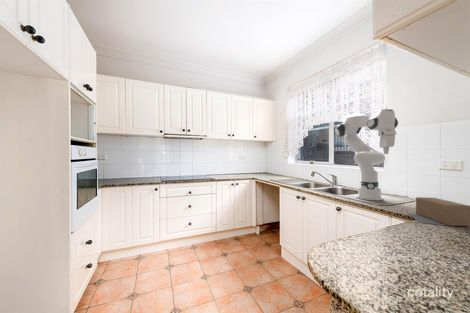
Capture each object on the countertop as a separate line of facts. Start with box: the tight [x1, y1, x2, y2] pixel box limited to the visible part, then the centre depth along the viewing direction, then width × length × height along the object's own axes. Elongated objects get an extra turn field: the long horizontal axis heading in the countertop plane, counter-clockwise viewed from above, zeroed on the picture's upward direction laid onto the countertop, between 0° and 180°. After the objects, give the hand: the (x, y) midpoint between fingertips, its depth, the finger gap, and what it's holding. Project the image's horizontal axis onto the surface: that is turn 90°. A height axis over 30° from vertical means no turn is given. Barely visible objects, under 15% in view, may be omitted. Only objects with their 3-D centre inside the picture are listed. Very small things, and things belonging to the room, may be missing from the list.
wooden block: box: [415, 196, 470, 227], centre depth 105 cm, size 10×10×20 cm
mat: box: [407, 213, 452, 227], centre depth 106 cm, size 18×12×1 cm, turn 153°
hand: (386, 154), depth 130 cm, fingers closed
